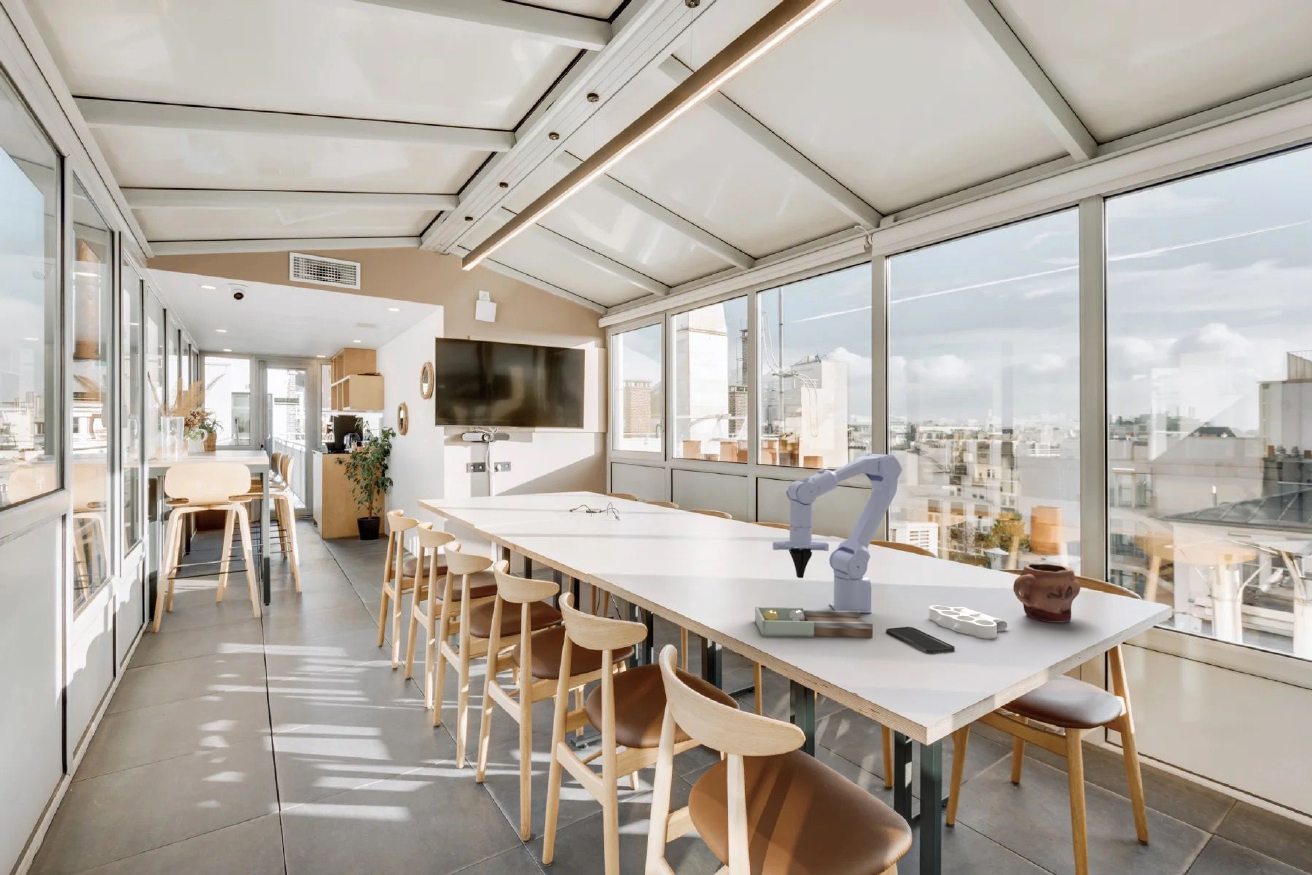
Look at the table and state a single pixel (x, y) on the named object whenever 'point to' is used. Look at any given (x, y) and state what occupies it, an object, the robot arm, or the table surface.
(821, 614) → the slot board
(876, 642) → the table surface
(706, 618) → the table surface
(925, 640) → the phone
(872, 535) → the robot arm
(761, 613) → the sage tray
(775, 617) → the brass ball
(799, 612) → the steel ball
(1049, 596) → the decorative planter
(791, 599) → the table surface
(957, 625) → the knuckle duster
